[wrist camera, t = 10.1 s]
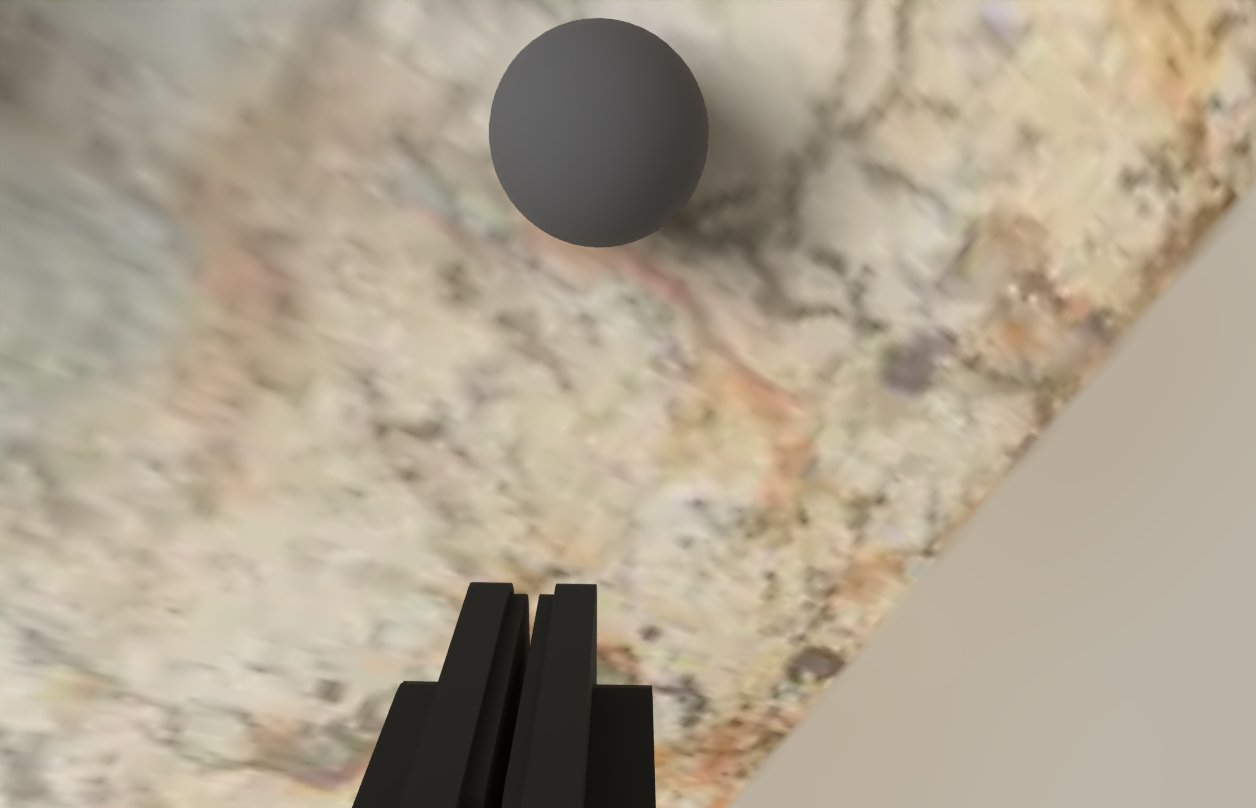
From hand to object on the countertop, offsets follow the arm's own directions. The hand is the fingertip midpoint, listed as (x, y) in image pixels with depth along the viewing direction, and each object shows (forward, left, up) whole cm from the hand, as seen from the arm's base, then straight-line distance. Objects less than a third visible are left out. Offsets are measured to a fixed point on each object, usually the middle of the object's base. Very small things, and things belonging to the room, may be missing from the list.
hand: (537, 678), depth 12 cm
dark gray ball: (+6, 0, -14) cm, 15 cm away
